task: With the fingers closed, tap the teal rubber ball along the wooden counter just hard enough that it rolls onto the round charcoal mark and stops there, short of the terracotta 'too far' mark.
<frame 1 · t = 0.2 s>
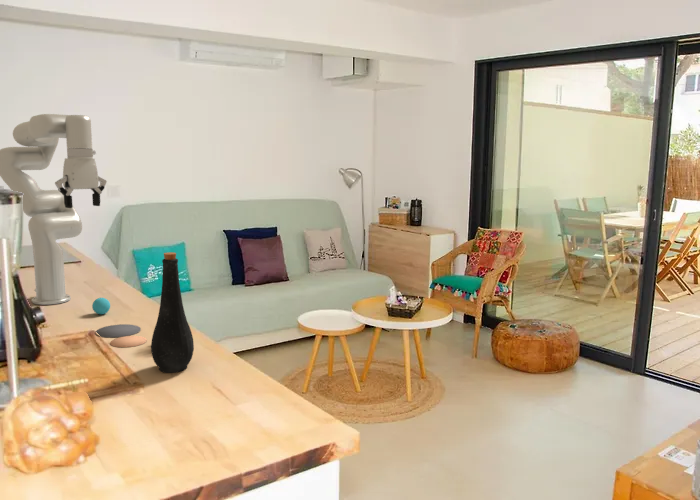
hand: (82, 206, 200), 36 cm above the kitchen counter, tool pointing down, fingers open, 9 cm apart
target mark: (118, 331, 187), on the kitchen counter
gear: (171, 346, 175), on the kitchen counter
bottle: (173, 368, 157), on the kitchen counter
far mark: (128, 341, 177), on the kitchen counter
ball: (101, 306, 204), on the kitchen counter
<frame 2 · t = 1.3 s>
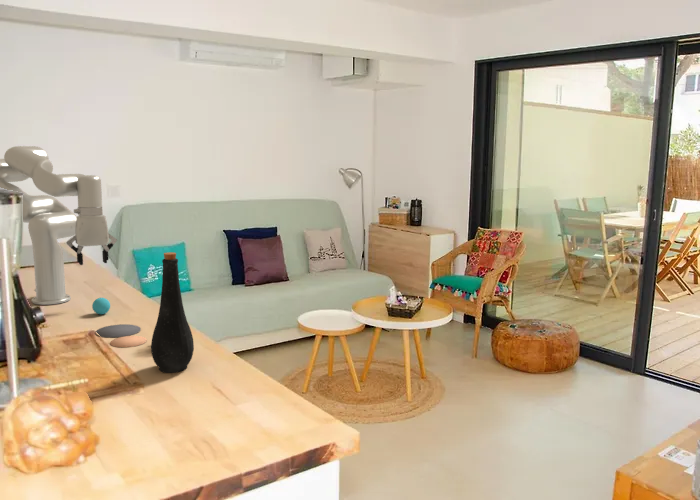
hand: (93, 263, 210), 16 cm above the kitchen counter, tool pointing down, fingers open, 7 cm apart
nothing on the kitchen counter moved.
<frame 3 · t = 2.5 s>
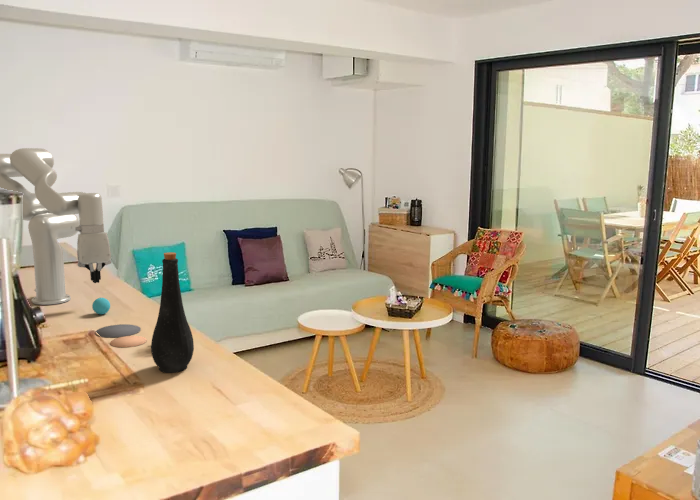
hand: (96, 282, 210), 9 cm above the kitchen counter, tool pointing down, fingers closed
nothing on the kitchen counter moved.
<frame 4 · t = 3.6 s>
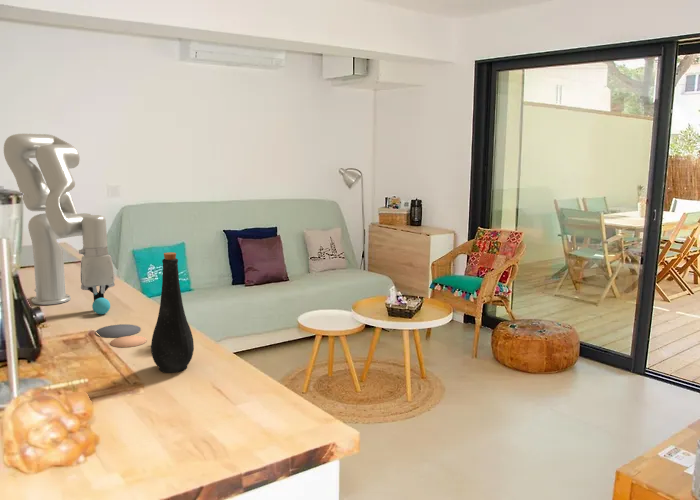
hand: (99, 304, 208), 2 cm above the kitchen counter, tool pointing down, fingers closed
nothing on the kitchen counter moved.
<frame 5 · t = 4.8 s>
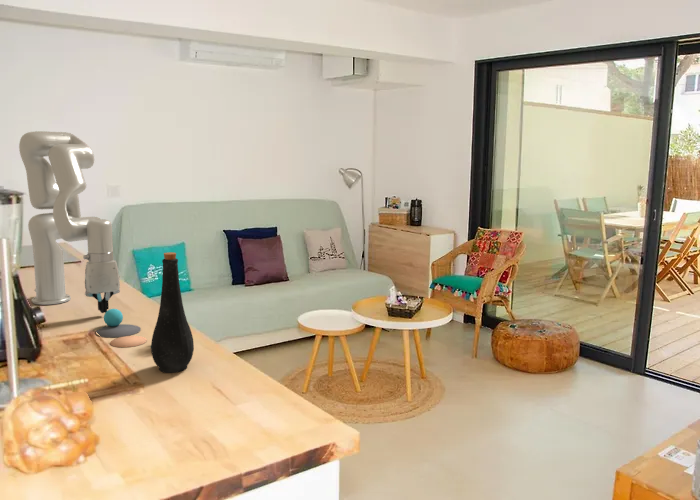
hand: (103, 311, 202), 2 cm above the kitchen counter, tool pointing down, fingers closed
ball: (113, 317, 191), on the kitchen counter
everything else where it was.
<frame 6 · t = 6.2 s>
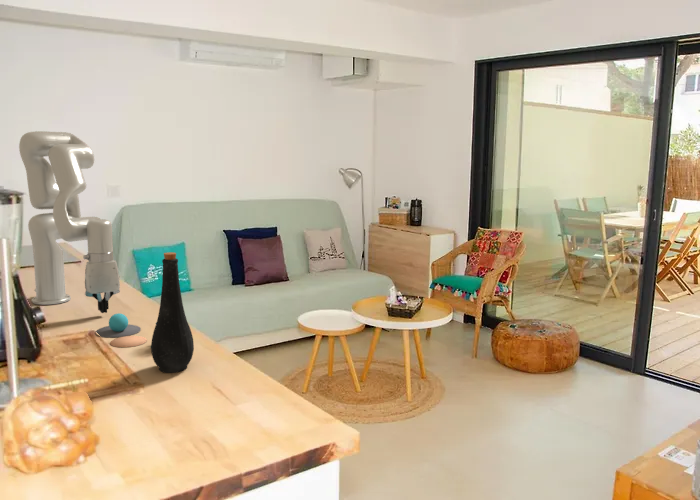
hand: (103, 311, 202), 2 cm above the kitchen counter, tool pointing down, fingers closed
ball: (118, 322, 186), on the kitchen counter
everything else where it was.
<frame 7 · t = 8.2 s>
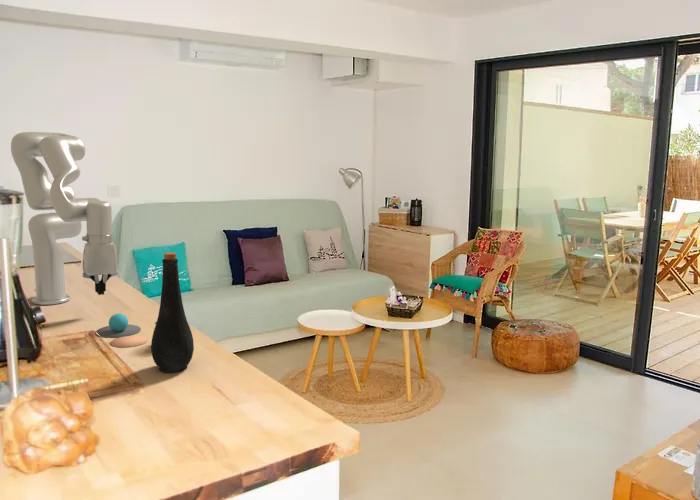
hand: (100, 293, 201), 7 cm above the kitchen counter, tool pointing down, fingers closed
nothing on the kitchen counter moved.
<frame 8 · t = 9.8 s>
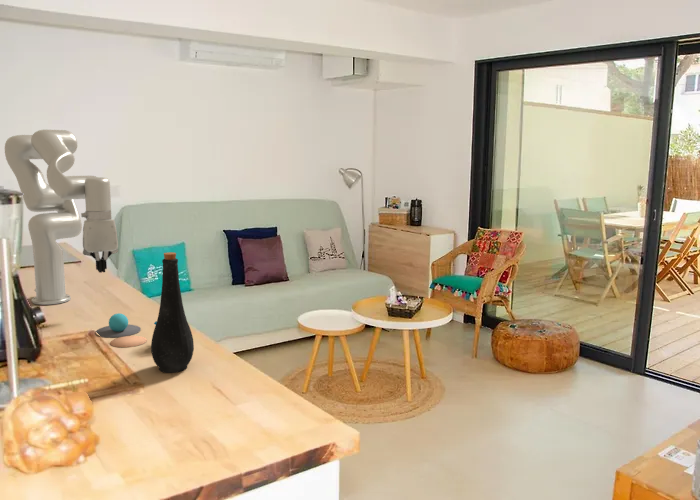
hand: (101, 271, 199), 15 cm above the kitchen counter, tool pointing down, fingers closed
nothing on the kitchen counter moved.
at the end: ball 0.4 cm from the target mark (horizontally); ball at rest at the end (0.0 cm/s); ball moved 22.4 cm from its start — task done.
